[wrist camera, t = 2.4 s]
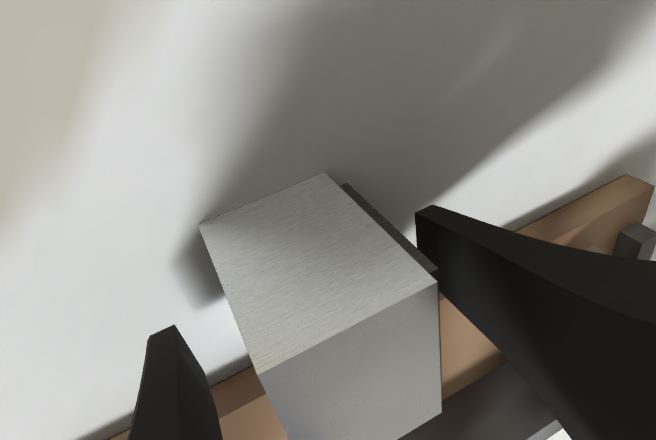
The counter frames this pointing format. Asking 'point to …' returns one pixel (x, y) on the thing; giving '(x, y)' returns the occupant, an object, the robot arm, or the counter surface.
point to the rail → (477, 340)
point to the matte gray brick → (332, 311)
